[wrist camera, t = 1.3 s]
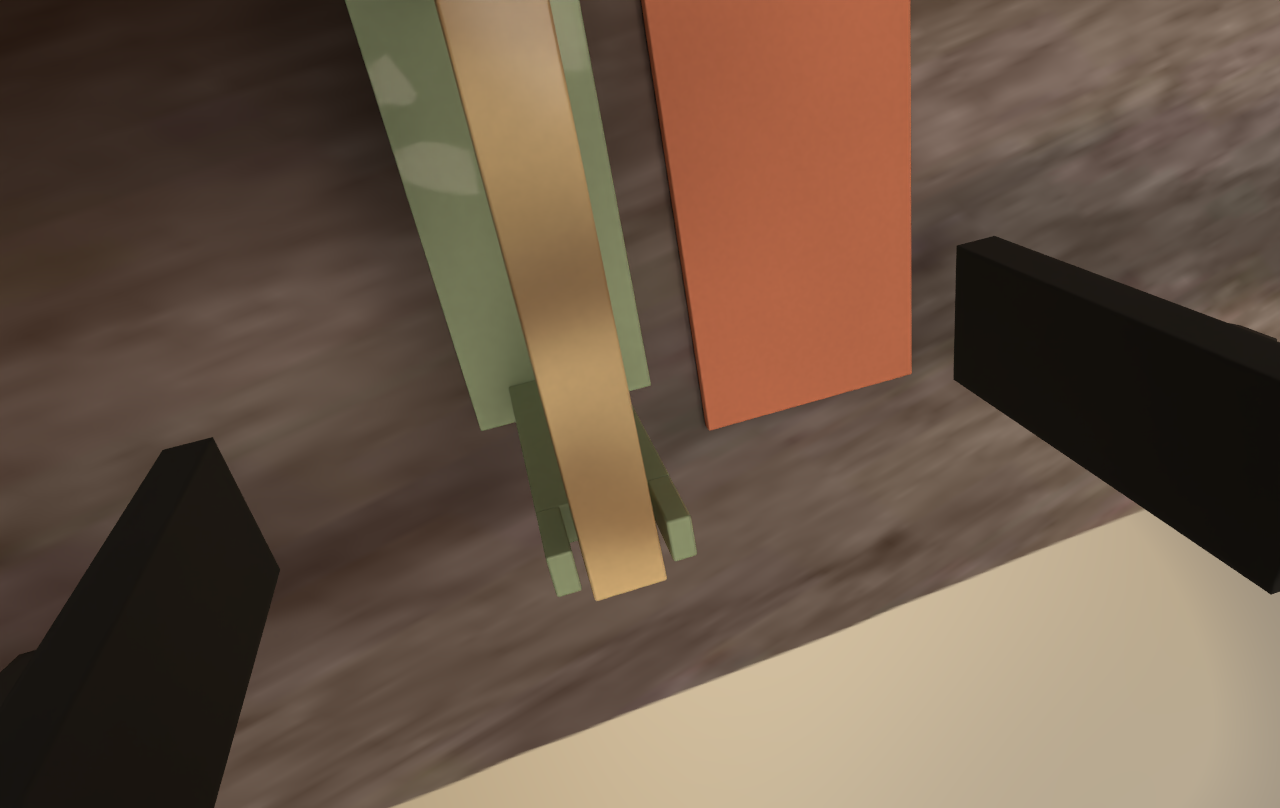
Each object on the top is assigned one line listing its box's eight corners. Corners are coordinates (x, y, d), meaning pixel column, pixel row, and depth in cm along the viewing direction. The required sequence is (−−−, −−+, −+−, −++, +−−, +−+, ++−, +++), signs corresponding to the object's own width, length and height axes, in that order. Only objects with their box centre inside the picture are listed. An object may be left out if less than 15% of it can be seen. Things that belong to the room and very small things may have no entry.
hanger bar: (365, -255, 16) (356, -296, 14) (479, -272, 16) (486, -315, 14) (582, 556, 27) (595, 602, 24) (649, 537, 27) (667, 580, 25)
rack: (309, -120, 26) (208, -239, 14) (544, -160, 27) (636, -302, 15) (479, 421, 36) (505, 619, 24) (646, 376, 37) (749, 545, 25)
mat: (616, -154, 27) (620, -158, 27) (901, -203, 29) (910, -208, 28) (705, 425, 39) (709, 431, 38) (905, 369, 40) (912, 374, 40)
